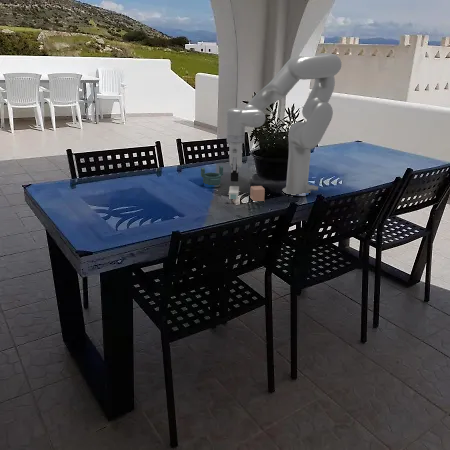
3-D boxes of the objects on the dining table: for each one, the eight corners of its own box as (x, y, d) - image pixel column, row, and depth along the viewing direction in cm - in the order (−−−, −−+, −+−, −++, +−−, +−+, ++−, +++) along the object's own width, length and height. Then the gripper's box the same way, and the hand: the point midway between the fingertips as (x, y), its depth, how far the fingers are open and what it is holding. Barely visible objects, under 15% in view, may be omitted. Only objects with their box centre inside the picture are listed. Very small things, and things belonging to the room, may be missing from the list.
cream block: (238, 186, 192) (238, 192, 183) (238, 195, 193) (237, 201, 185) (229, 186, 192) (228, 192, 184) (229, 194, 194) (228, 201, 185)
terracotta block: (260, 198, 190) (261, 185, 188) (264, 202, 186) (264, 189, 183) (249, 199, 189) (250, 186, 187) (252, 203, 185) (253, 189, 183)
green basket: (199, 186, 205) (199, 168, 202) (209, 181, 213) (209, 163, 209) (216, 189, 202) (216, 170, 198) (225, 184, 209) (225, 166, 206)
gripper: (244, 142, 176) (242, 186, 183) (244, 135, 190) (243, 176, 197) (225, 142, 176) (224, 185, 183) (227, 135, 190) (226, 175, 197)
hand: (234, 180), depth 190 cm, fingers closed
